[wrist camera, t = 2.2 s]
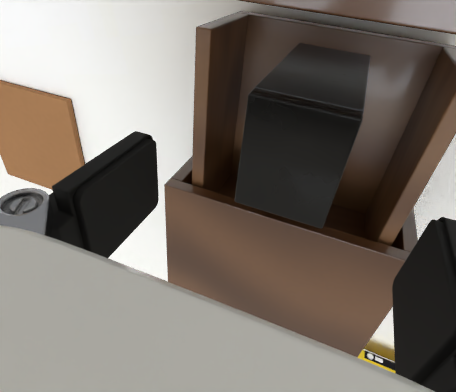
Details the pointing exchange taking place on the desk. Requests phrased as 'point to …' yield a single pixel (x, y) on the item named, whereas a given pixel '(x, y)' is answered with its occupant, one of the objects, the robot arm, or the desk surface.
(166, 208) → the cabinet
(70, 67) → the desk surface
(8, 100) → the pad
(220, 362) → the robot arm
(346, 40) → the drawer
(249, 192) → the tall lidded canister
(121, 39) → the desk surface
